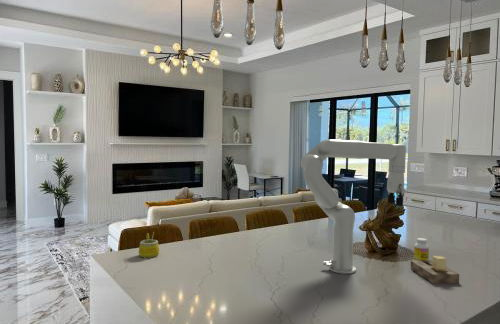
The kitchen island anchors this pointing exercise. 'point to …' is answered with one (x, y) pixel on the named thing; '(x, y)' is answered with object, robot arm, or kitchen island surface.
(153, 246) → the yellow pot
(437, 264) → the peg
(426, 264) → the socket block
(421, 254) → the supplement bottle
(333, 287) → the kitchen island surface
